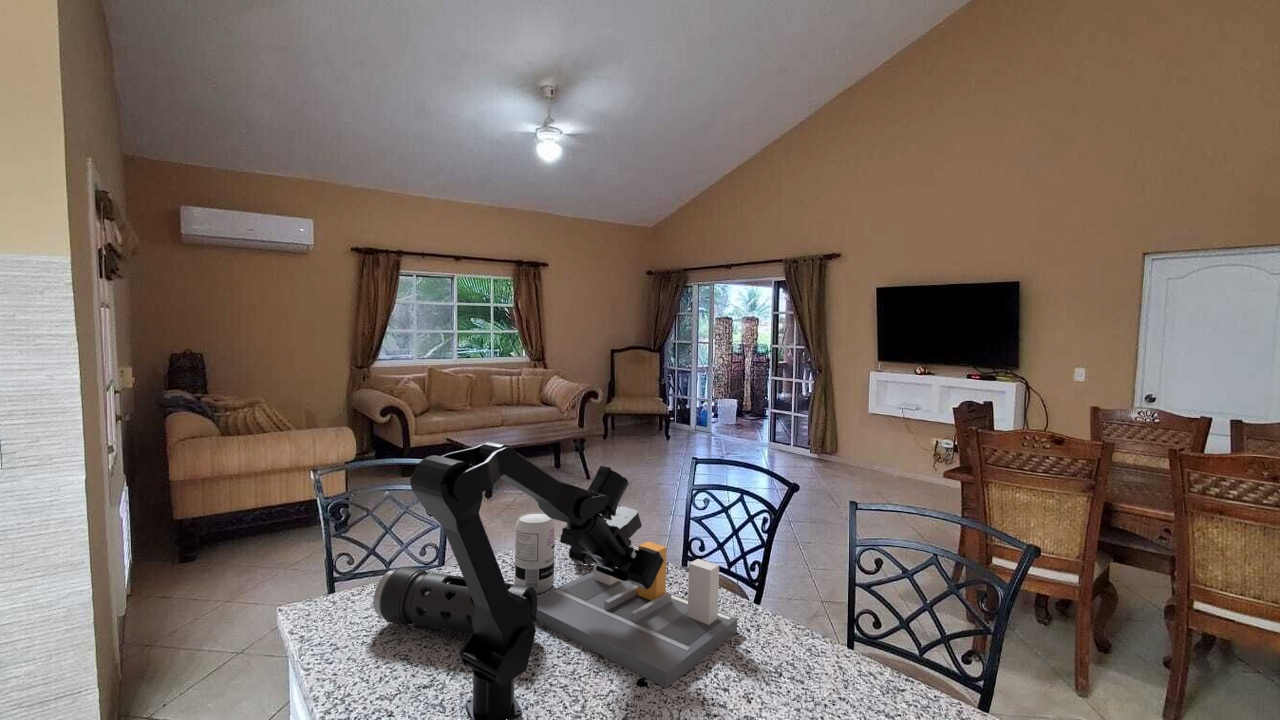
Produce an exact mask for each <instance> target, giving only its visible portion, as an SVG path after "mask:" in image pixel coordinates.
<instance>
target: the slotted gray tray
mask: <svg viewBox="0 0 1280 720" xmlns="http://www.w3.org/2000/svg"><path fill="white" fill-rule="evenodd" d="M596 567H597V565H595V564H594V565H593V571H592V572H590V573H587V574H585V575H582V576H581V577H580V576H579V577H578V578H576V579H574V580H571V581H569V582H567V583H565V584H563V585H560V586H558V587H556V588H553V589H550V590H548V591H545V592H543V593H541V594H540V595H537V613H536V618H537V620H536V621H535V622H536V623H538V624H539V625H541V626H543V627H545V628H547V629H549V630H551V631H553V632H555V633H557V634H559V635H561V636H562V637H564V638H567V639H568V640H570V641H573V642H574V643H577V644H579V645H581V646H582V647H584V648H586V649H588V650H591V651H592V652H594V653H596V654H598V655H599V656H602V657H604V658H607V660H609V661H612V662H614V663H616V664H618V665H619V666H621V667H624V669H627V670H629V671H631V672H633V673H636V674H637V675H639V676H642V677H643V678H645V679H646V680H649V681H651V682H653V683H655V684H657V685H659V686H660V687H663V688H665V689H668V688H669V687H670V686H672V685H673V684H674V683H675V682H677V680H678V679H680V678H681V677H683V675H684V674H686V673H687V672H688V671H690V670H691V669H692V668H693V667H695V666H696V665H698V664H699V663H701V661H703V660H704V659H705V658H706V657H708V656H709V655H710V654H711V653H713V652H714V651H716V649H718V648H719V647H720V646H721V645H723V644H724V643H726V642H727V641H728V640H729V639H730V638H731V637H733V636H734V635H735V634H737V632H738V618H736V617H734V616H731V615H728V614H726V613H723V612H720V611H719V585H720V583H719V582H720V581H719V580H720V565H718V564H717V563H713V562H710V561H706V560H703V559H701V558H700V559H699V558H697V559H695V560H692V561H691V562H689V563H688V584H687V585H688V590H687V599H686V598H683V597H681V596H677V595H676V594H672V593H671V592H669V591H665V594H663V595H661V596H659V597H658V598H656V599H654V600H652V601H651V600H649V599H646V598H644V597H641V596H639V595H638V586H636V585H634V584H632V583H631V582H629V581H622V580H619V579H616V578H614V577H613V576H609V575H606V574H603V573H601V572H598V571H597V570H596ZM535 622H534V623H535Z"/></svg>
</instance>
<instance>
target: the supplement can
mask: <svg viewBox="0 0 1280 720" xmlns="http://www.w3.org/2000/svg"><path fill="white" fill-rule="evenodd" d="M555 525H556V524H555V521H554V519H552V518H549V517H548V516H547V515H546V514H545V513H544V512H527V513H524V514H522V515H520V516H519V517H518V519H517V522H516V523H515V534H514V536H515V538H514V539H515V540H514V542H515V543H514V553H515V554H514V584H515V585H522V586H529V587H533V588H534V589H535V591H536V594H537V595H538V594H543V593H546V592H548V591H550V590H551V587H553V585H554V580H555V529H556V527H555ZM542 592H543V593H542Z"/></svg>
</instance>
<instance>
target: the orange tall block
mask: <svg viewBox="0 0 1280 720" xmlns="http://www.w3.org/2000/svg"><path fill="white" fill-rule="evenodd" d="M642 547H646V548H649V549H652V550H655V551H658V552H659V553H660V554H661V555H662V557H663V559H664V562H663V564H662V566H661V568H660V570H659V572H658V574H657V576H656V578H655V580H654V582H653V584H652V586H651V588H649V589H647V590H646V589H644V588H641V587H639V586H638V595H639V596H641V597H644V598H646V599H649V600H651V601H652V600H654V599H656V598H658V597H659V596H661V595H663V594H665V592H666V586H667V585H666V583H667V582H666V580H667V576H666V575H667V548H668V547H667V546H664V545H661V544H658V543H655V542H652V541H645V542H642V543H641V544H639V545H638V550H639V549H640V548H642Z"/></svg>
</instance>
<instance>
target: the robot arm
mask: <svg viewBox="0 0 1280 720" xmlns="http://www.w3.org/2000/svg"><path fill="white" fill-rule="evenodd" d="M599 466H600V467H599V468H598V470H597V472H596V474H595V476H594V478H593V480H592V481H591V482H590V484H589V487H588V489H584V488H582V487H579V486H576V485H573V484H570V483H566V482H563V481H561V480H558V479H557V478H556V477H554V476H553V475H551V474H549V473H548V472H546V471H545V470H544V469H542V468H541V467H539V466H538V465H536V464H535V463H533V462H532V461H530V460H529V459H528V458H526V457H525V456H523V455H522V454H520V453H518V452H517V450H516V449H515V448H514V447H512V445H509V444H507V443H505V444H504V443H501V442H500V443H499V442H494V441H487V442H483V443H481V444H478V445H475V446H474V447H469V448H465V449H461V450H457V451H456V450H455V451H451V452H447V453H444V454H442V455H429V456H427V457H425V458H423V459H422V460H421V461H419V462H418V463H417V465H416V466H415V468H414V470H413V471H412V472H413V473H412V475H411V476H410V479H409V481H410V483H409V484H410V487H411V491H412V493H413V494H414V495H415V497H416V499H417V500H418V501H419V503H420V504H421V506H422V507H423V508H424V509H425V510H426V511H427V512H428V513H429V514H430V515H431V516H432V518H434V520H436V521H437V522H438V523H439V524H440V526H442V529H443V531H444V533H445V536H446V539H447V541H448V543H449V546H450V548H451V550H452V554H453V555H454V558H455V559H456V562H457V565H458V567H459V571H460V572H461V574H462V577H464V580H465V582H466V584H467V587H468V589H469V592H470V594H471V596H472V599H473V601H474V604H475V610H474V613H473V617H472V624H473V631H472V633H471V634H470V635H468V638H467V639H466V640H465V643H464V645H463V646H462V648H461V649H460V651H459V652H458V657H459V659H460V662H461V664H462V666H465V667H468V668H470V669H471V670H473V672H472V673H473V674H472V676H473V677H472V679H473V680H472V698H469V699H467V700H465V707H466V710H467V711H468V714H469V716H470V720H506V719H510V720H512V719H511V718H513V719H516V718H518V717H521V716H522V715H523V710H522V708H521V706H520V704H519V702H518V701H517V699H516V697H515V679H516V678H517V677H519V676H520V675H522V674H524V673H526V671H527V669H528V665H529V661H530V658H531V653H532V649H533V646H534V641H535V636H536V625H535V622H534V621H536V620H537V618H536V617H534V615H533V614H532V611H531V605H530V602H529V600H528V599H527V598H525V597H523V596H520V595H518V594H515V593H513V592H510V591H508V589H507V586H506V583H507V582H506V581H505V578H504V577H503V573H502V571H501V568H500V566H499V563H498V560H497V558H496V554H495V551H494V549H493V547H492V545H491V542H490V539H489V536H488V534H487V531H486V529H485V525H484V524H483V520H482V518H481V516H480V515H481V514H480V510H481V507H482V502H483V499H484V492H485V491H488V490H490V489H491V488H492V487H494V486H495V484H496V482H498V480H499V479H500V480H501V479H502V480H503V481H505V482H506V483H508V484H509V485H510V486H511V485H512V487H515V488H516V489H518V490H519V491H520V492H523V493H524V494H526V495H528V496H529V497H531V498H532V499H534V500H535V501H536V502H537V505H538V508H539V509H540V510H541V511H542V513H545V514H546V515H547V516H548V517H549V518H552V520H557V521H560V522H564V523H566V525H565V527H562V528H561V529H562V530H561V531H562V532H561V535H560V538H559V539H560V543H562V544H565V545H568V546H570V545H571V546H570V548H569V550H568V551H569V553H568V557H569V559H571V561H573V563H576V564H579V565H580V564H581V565H580V566H585V565H584V564H585V563H586V561H585V560H584V558H585V556H586V554H588V555H591V556H592V557H593V559H592V560H591V562H592V563H593V564H595V565H597V567H596V570H597V571H598V572H601V573H603V574H606V575H609V576H613V577H614V578H616V579H619V580H622V581H629V582H631V583H632V584H634V585H636V586H639V587H641V588H644V589H646V590H647V589H649V588H651V586H652V584H653V582H654V580H655V578H656V576H657V574H658V572H659V570H660V568H661V566H662V564H663V562H664V559H663V557H662V555H661V554H660V553H659V552H658V551H655V550H652V549H649V548H646V547H642V548H640V549H639V548H638V549H635V548H634V547H632V546H631V544H632V543H633V542H632V540H631V537H633V535H634V534H635V533H636V532H637V531H638V530H639V529H641V528H642V522H641V517H640V515H639V511H638V510H637V509H634V508H630V507H628V506H627V507H626V506H619V504H620V502H621V500H622V498H623V497H624V495H625V493H626V491H627V489H628V486H629V485H630V484H629V481H628V479H627V478H626V477H624V476H622V475H621V474H620V473H618V472H617V471H614V470H612V469H611V466H607V465H606V466H605V465H599Z"/></svg>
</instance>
